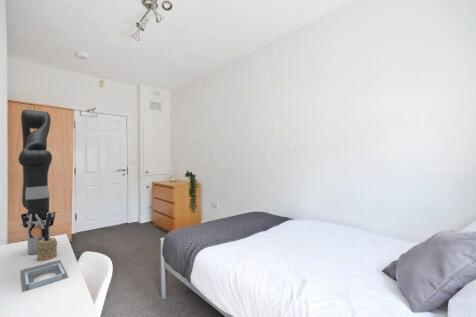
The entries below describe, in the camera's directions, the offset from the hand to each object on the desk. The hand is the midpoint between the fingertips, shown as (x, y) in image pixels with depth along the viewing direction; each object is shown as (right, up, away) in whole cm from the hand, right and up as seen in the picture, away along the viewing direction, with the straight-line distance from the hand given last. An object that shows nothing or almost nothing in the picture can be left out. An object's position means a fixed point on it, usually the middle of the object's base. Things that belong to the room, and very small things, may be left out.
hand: (39, 237), depth 97 cm
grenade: (-10, -17, +17) cm, 26 cm away
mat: (+2, -16, 0) cm, 16 cm away
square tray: (+5, -16, -3) cm, 17 cm away
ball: (0, 0, 0) cm, 0 cm away
